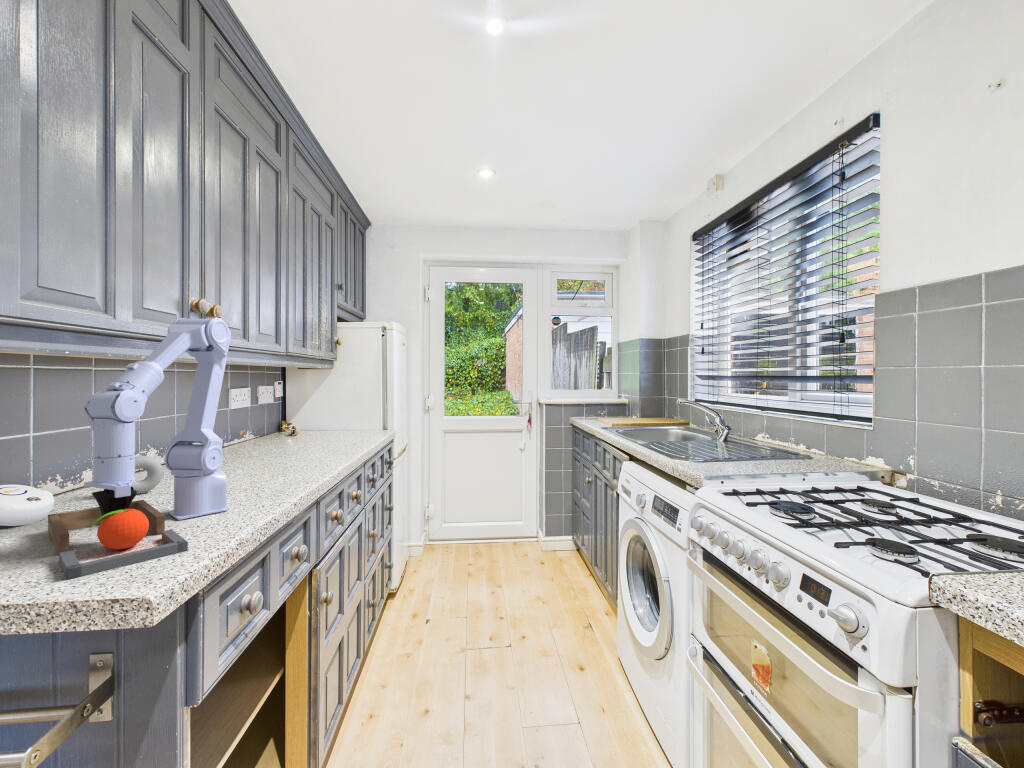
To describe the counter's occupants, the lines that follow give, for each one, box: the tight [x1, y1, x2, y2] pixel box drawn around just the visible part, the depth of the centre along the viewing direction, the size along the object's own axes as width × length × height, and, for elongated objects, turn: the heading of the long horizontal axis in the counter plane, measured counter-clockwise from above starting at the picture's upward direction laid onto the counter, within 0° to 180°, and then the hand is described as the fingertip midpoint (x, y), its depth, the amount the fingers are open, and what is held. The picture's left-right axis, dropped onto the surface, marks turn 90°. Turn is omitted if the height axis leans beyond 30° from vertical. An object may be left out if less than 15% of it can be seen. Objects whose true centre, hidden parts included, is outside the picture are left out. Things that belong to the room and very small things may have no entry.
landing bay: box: [58, 529, 189, 580], centre depth 75 cm, size 15×10×2 cm, turn 141°
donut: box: [132, 455, 164, 495], centre depth 115 cm, size 10×4×10 cm, turn 138°
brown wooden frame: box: [47, 499, 166, 555], centre depth 86 cm, size 14×17×4 cm
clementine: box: [89, 508, 149, 551], centre depth 78 cm, size 8×7×7 cm
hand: (114, 529), depth 81 cm, fingers closed
